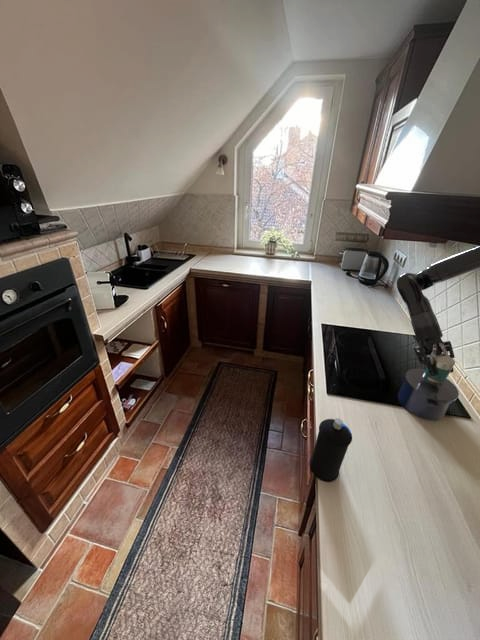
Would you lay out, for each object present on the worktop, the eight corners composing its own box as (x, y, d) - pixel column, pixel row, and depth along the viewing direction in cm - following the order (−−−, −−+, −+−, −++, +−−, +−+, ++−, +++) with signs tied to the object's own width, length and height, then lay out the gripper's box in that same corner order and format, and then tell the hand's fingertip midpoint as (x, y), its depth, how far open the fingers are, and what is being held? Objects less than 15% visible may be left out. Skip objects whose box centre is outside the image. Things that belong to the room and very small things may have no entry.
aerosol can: (327, 488, 68) (345, 442, 58) (303, 465, 74) (315, 419, 64) (344, 469, 73) (362, 423, 63) (320, 448, 78) (333, 403, 68)
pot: (441, 394, 99) (452, 374, 94) (450, 431, 85) (465, 410, 80) (395, 381, 105) (404, 362, 100) (397, 413, 91) (407, 392, 85)
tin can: (441, 377, 90) (453, 356, 85) (444, 388, 85) (457, 366, 81) (421, 371, 92) (432, 351, 88) (423, 382, 88) (434, 361, 83)
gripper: (418, 326, 84) (436, 377, 80) (451, 321, 87) (470, 369, 84) (400, 331, 91) (416, 378, 87) (431, 326, 95) (447, 371, 91)
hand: (442, 373), depth 85 cm, fingers closed on tin can, 6 cm apart
